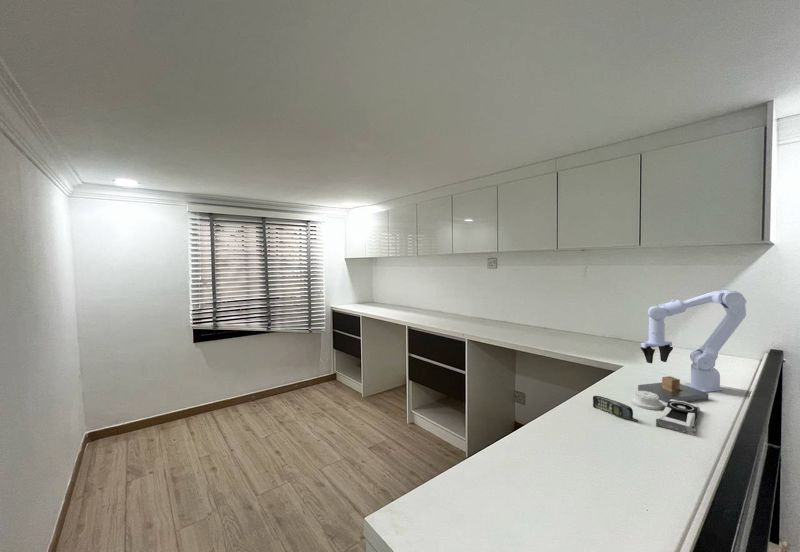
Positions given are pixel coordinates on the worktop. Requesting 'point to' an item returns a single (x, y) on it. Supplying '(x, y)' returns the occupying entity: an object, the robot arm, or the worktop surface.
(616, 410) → the mobile phone
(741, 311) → the robot arm
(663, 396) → the hole plate
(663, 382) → the walnut peg
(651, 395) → the mechanical component
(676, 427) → the graphics card
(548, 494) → the worktop surface
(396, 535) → the worktop surface
